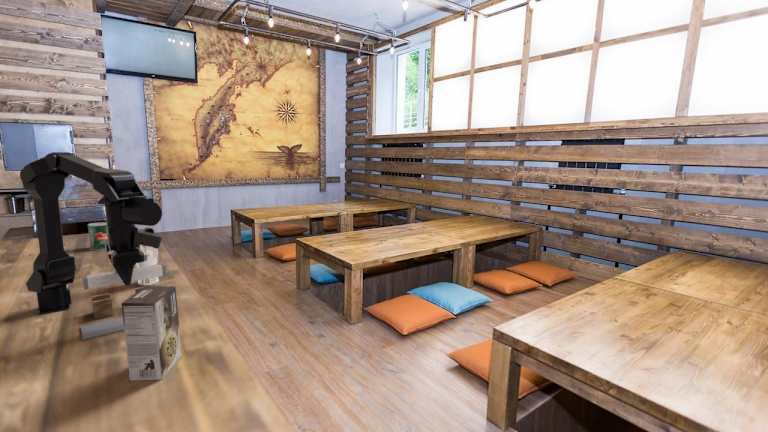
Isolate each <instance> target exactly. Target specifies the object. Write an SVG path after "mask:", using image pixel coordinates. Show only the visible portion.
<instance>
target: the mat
mask: <svg viewBox="0 0 768 432" xmlns="http://www.w3.org/2000/svg"><path fill="white" fill-rule="evenodd" d="M80 330H81V331H80V332H81V336H82V341H85V340H90V339H94V338H98V337H103V336H107V335H111V334H114V333H115V334H116V333H119V332H125V331H124V322H123V316H122V317H118V318H114V319H113V318H112V319H109V320H105V321H100V322H96V323H92V324H87V325H82V326H81V325H80Z"/></svg>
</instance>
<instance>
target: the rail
mask: <svg viewBox="0 0 768 432" xmlns="http://www.w3.org/2000/svg"><path fill="white" fill-rule="evenodd" d="M166 267H167V266H166V264H165V263H159V264H158V263H157V265H151V266H144V267H138V268H137V267H134V268H133V273H132V279H131V282H135V281H138V280H142V279H148V278H154V277H158V278H159V277H166V276H167V268H166ZM82 283H83V290H84V291H85V290H90V289H95V288H96V289H97V288H102V287H108V286H113V285H119V284H124V283H123V281H122V279H121V278H120V276H119V274H118V273H117V271H116V270H114V271H113V270H112V271H108V272H102V273H101V272H100V273H94V274H87V275H86V274H85V275H82Z"/></svg>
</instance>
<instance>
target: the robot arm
mask: <svg viewBox="0 0 768 432" xmlns="http://www.w3.org/2000/svg"><path fill="white" fill-rule="evenodd" d="M70 176H73V177H75V178H78V179H80V180H83V181H85V182H87V183H89V184H91V187H92V189H93V190H94V191H96V192H97V193H99V194H100V195H102V198H100V199H99V200H98V201H97V204H98V205H104V211H105V222H106V223H107V227H106V231H107V232H108V240H107V241H106V242H105V252H106V253H109V252H110V251H111V253H109V254H107V257H108V258H109V260H110V263H111V265H112V267H113V268H114V269H115V270H114V271H117V273H118V274H119V276H120V278H121V279H122V281H123V283H122V284H124V286H129V285H131V282H132V281H131V279H132V273H133V268H135V265H136V263H140V262H144V261H145V259H144V253H143V252H142V251H141V250H139V249H138V248H139V247H140V245H144V246H149V247H153V248H156V249H158V250H159V249H160V247H161V243H162V241H163V238H164V237H163V236H162V235H161V234H159V233H157V232H156V233H155V230H154V228H152V227H154V226H156V225H157V224H159V222H160V221H161V219H162V216H163V209H162V208H161V205H159V204H158V203H157V202H154V197H153V196H148V195H146V193H145V191H144V190H143V188H142V187H141V185H140V184H139V182H138V181H137V179H136V178H135V177H134V176H135V175H134V174H133V173H132V172H130V171H127V170H123V169H116V168H107V167H103V166H100V165H98V164H96V163H94V162H91V161H89V160H86V159H83V158H81V157H79V156H76V155H75V154H74V153H71V152H67V151H64V152H62V151H59V152H58V151H57V152H55V151H53V152H50V153H47V154H46V155H45V156H44V157H41V158H39V159H37V160H34V161H31V162H29V163H28V164H27V165H25V166H23V168H22V169H21V170H20V172H19V178H20V180H21V184H22V187H23V189H24V190H25V192H26V193H27V194H28V195H29V196H31V198H32V200H33V206H34V215H35V222H36V229H37V230H36V231H37V239H38V246H39V253H38V255H37V257H36V258H35V259H34V261H33V263H32V265H33V266H32V268H33V269H32V273H31V275H30V277H29V278H28V279H27V281H26V282H25V285H26V286H25V287H26V288H27V291H28V292H33V293H36V299H37V303H38V304H37V305H38V312H37V313H38V314H39V315H42V314H48V313H52V312H57V311H64V310H68V309H70V308H71V305H72V297H71V290H70V288H69V287H68V286H67V285H70V284H74V282H75V275H76V271H77V267H76V263H75V262H76V261H75V259H76V258H75V257H74V256H72V255H69V254H68V252H67V251H65V246H64V237H63V228H62V222H61V221H62V220H61V212H60V203H59V202H60V201H59V198H60V196H61V195H62V193H63V191H64V190H65V188H66V185H65V184H66V179H68V177H70ZM138 225H139V226H146V227H145V228H144V229H143V230H139V229H138V227H137V226H138ZM148 226H149V227H148Z"/></svg>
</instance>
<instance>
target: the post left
mask: <svg viewBox="0 0 768 432" xmlns="http://www.w3.org/2000/svg"><path fill="white" fill-rule="evenodd" d="M91 304H92V305H91V306H92V314H93V318H94V320H99V319H104V318H109V317H114V310H113V309H114V308H113V299H112V297H111V293H110V292H108V293H103V294H102V293H101V294H98V295H96V294H95V295H91Z"/></svg>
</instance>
